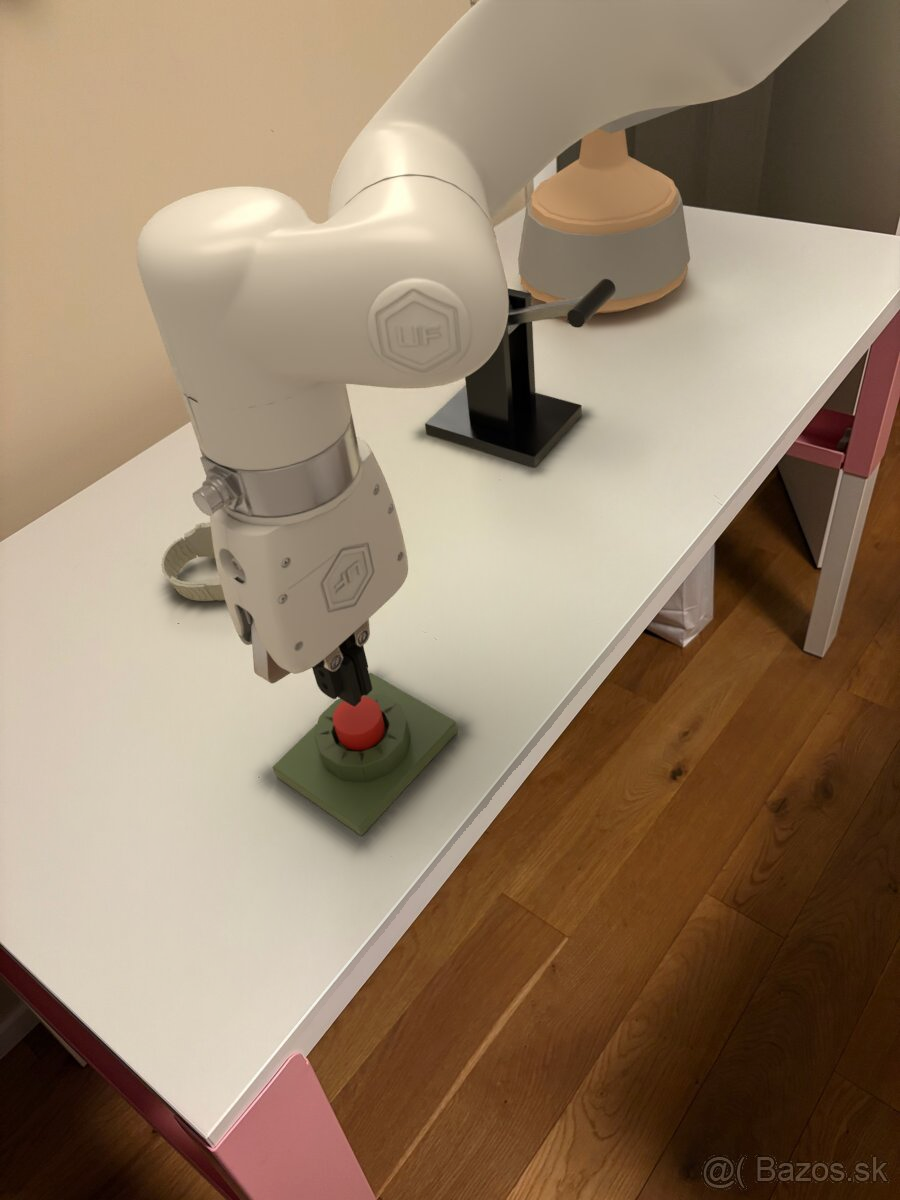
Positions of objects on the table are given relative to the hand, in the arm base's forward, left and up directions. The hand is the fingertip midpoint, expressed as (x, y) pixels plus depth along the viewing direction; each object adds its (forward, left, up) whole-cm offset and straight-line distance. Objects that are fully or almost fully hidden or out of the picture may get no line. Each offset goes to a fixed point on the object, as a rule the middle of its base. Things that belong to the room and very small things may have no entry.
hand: (346, 688), depth 60 cm
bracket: (-15, -36, -7) cm, 40 cm away
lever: (-19, -33, +4) cm, 38 cm away
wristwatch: (+11, -20, -7) cm, 24 cm away
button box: (0, 0, -7) cm, 7 cm away
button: (0, 0, -4) cm, 5 cm away
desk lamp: (-30, -60, -7) cm, 68 cm away
